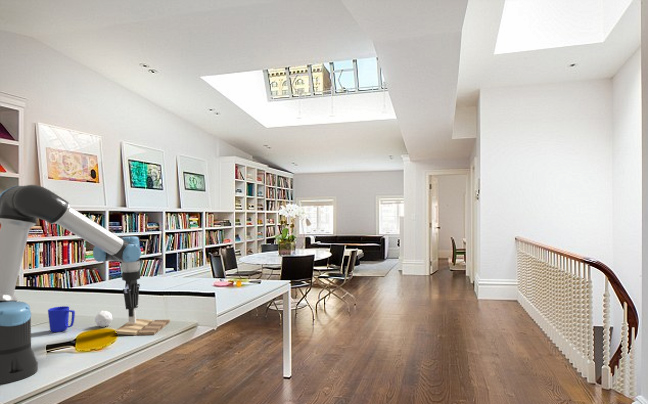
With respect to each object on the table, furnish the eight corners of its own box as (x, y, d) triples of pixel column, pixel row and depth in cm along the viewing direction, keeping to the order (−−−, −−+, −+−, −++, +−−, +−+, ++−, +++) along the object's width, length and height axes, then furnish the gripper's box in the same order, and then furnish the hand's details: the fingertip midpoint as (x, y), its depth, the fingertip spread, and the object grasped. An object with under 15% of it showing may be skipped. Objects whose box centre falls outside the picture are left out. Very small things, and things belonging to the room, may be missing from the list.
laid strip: (154, 334, 184) (154, 331, 184) (136, 335, 183) (136, 332, 183) (170, 322, 204) (169, 319, 204) (154, 322, 203) (154, 319, 203)
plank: (135, 335, 183) (135, 332, 183) (114, 333, 183) (114, 330, 183) (153, 322, 203) (153, 319, 203) (133, 321, 203) (134, 318, 203)
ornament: (93, 329, 194) (89, 313, 198) (105, 330, 201) (101, 315, 204) (105, 321, 194) (102, 305, 197) (117, 323, 200) (113, 308, 204)
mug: (67, 333, 188) (66, 311, 188) (43, 332, 191) (43, 310, 191) (81, 328, 196) (80, 306, 196) (58, 327, 199) (58, 306, 199)
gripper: (133, 272, 187) (134, 327, 187) (145, 268, 200) (146, 319, 200) (115, 273, 187) (117, 327, 187) (128, 268, 200) (130, 319, 200)
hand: (132, 323), depth 193 cm, fingers closed
